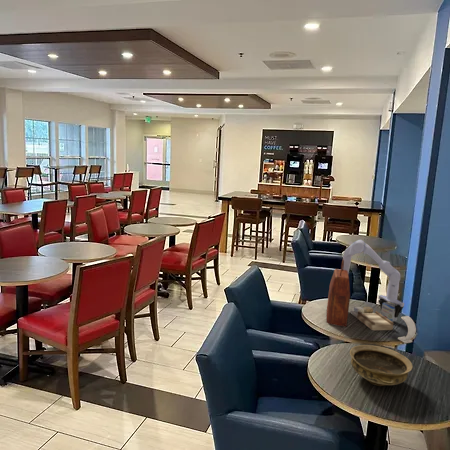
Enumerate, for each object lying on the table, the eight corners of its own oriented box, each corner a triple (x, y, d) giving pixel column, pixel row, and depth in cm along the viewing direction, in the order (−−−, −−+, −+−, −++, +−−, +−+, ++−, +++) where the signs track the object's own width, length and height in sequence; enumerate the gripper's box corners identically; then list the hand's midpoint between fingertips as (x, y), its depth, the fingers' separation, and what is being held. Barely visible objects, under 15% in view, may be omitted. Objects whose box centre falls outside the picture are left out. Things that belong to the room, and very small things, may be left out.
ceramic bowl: (418, 407, 149) (422, 382, 147) (351, 396, 153) (354, 371, 151) (399, 367, 178) (402, 345, 176) (343, 358, 182) (345, 337, 180)
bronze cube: (365, 315, 235) (362, 312, 239) (372, 315, 236) (369, 313, 240) (366, 309, 235) (363, 306, 238) (373, 309, 235) (370, 306, 239)
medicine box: (380, 316, 234) (382, 302, 232) (384, 315, 236) (386, 301, 235) (392, 322, 227) (394, 307, 226) (396, 320, 230) (399, 306, 228)
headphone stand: (404, 337, 209) (407, 315, 207) (413, 343, 204) (417, 320, 202) (397, 339, 207) (401, 316, 205) (407, 344, 202) (411, 321, 200)
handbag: (326, 324, 220) (333, 262, 214) (326, 311, 239) (333, 253, 232) (346, 327, 218) (354, 265, 211) (344, 314, 237) (352, 256, 230)
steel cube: (357, 316, 234) (353, 313, 237) (363, 315, 235) (359, 313, 238) (358, 309, 233) (354, 306, 237) (364, 309, 234) (360, 306, 238)
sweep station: (350, 312, 239) (351, 306, 238) (368, 312, 242) (369, 306, 241) (372, 330, 216) (373, 322, 215) (392, 330, 218) (393, 322, 218)
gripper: (377, 288, 233) (373, 311, 235) (400, 296, 221) (397, 320, 223) (384, 287, 237) (380, 309, 239) (407, 295, 225) (404, 318, 228)
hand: (389, 314), depth 232 cm, fingers closed on medicine box, 7 cm apart
